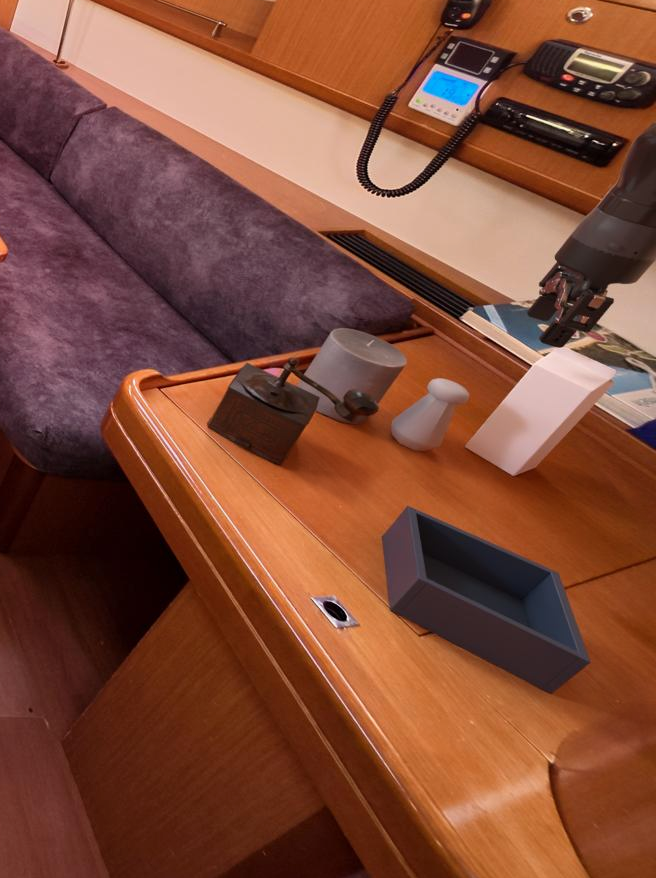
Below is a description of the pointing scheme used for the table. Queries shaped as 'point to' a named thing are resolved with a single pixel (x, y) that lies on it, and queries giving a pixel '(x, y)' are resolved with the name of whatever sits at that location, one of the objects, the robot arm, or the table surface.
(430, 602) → the bin
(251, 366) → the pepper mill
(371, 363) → the pillar candle
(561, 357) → the milk
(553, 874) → the table surface
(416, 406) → the salt shaker
